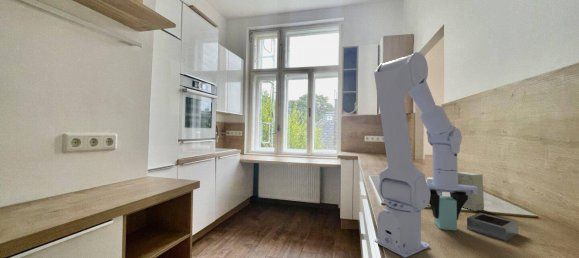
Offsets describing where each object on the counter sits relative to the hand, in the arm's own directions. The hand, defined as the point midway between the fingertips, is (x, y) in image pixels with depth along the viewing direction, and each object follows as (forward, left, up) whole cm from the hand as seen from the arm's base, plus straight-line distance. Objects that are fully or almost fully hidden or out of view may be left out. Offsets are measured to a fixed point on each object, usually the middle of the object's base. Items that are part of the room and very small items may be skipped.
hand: (445, 217), depth 62 cm
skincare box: (+25, +4, -3) cm, 25 cm away
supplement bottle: (+17, +12, -3) cm, 21 cm away
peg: (0, 0, -2) cm, 2 cm away
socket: (+8, -7, -3) cm, 11 cm away
